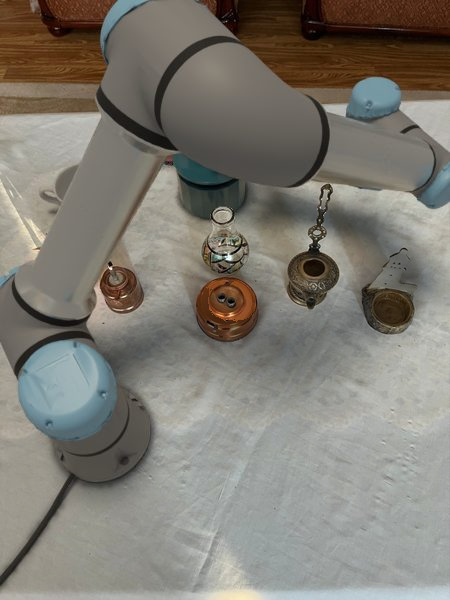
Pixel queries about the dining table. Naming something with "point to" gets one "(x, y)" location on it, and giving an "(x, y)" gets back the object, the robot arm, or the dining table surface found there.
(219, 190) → the pot
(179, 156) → the lid
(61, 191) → the teacup
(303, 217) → the dining table surface
